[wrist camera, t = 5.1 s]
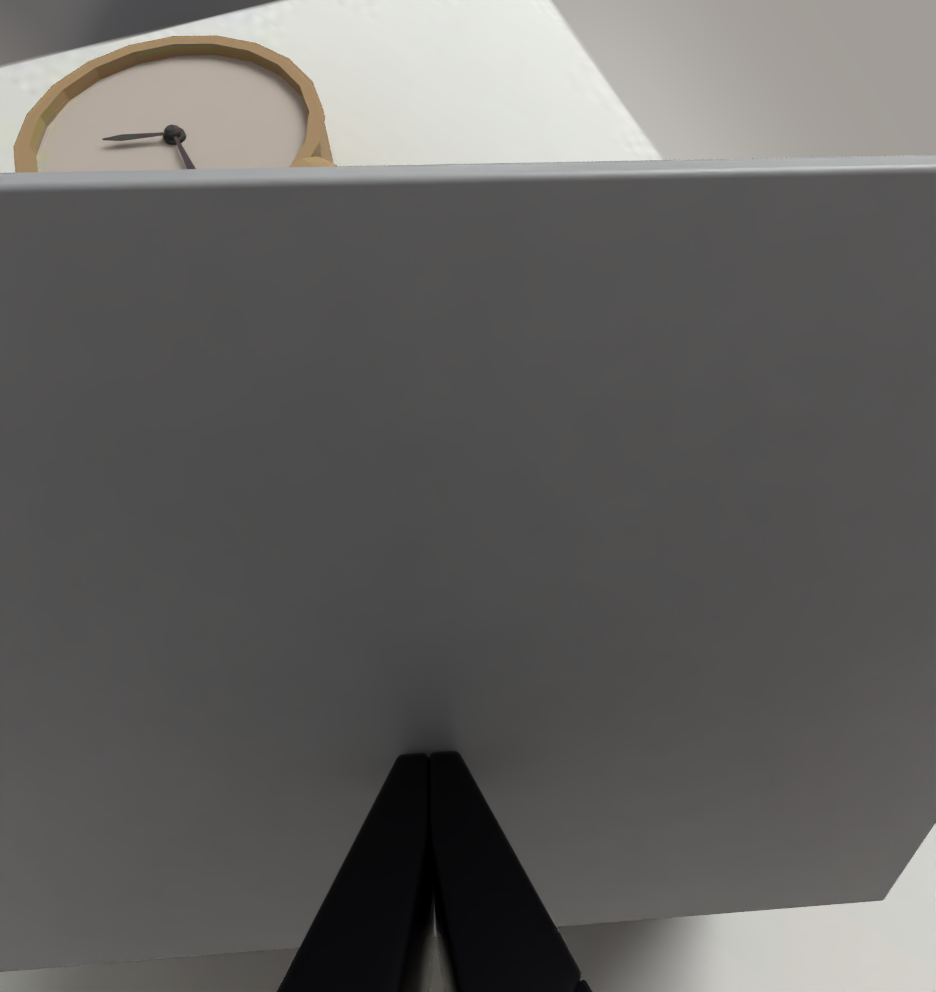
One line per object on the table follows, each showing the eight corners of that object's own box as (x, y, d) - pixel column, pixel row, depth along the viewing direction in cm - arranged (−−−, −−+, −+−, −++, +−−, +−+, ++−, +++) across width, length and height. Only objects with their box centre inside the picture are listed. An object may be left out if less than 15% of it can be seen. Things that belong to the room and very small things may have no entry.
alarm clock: (258, 2, 27) (411, 196, 20) (292, 120, 31) (427, 313, 24) (-16, 84, 25) (49, 333, 18) (61, 199, 29) (137, 434, 22)
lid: (-645, 184, 5) (-803, 199, 4) (1283, 146, 6) (1391, 155, 5) (-9, 925, 12) (-35, 976, 11) (859, 859, 13) (884, 901, 12)
